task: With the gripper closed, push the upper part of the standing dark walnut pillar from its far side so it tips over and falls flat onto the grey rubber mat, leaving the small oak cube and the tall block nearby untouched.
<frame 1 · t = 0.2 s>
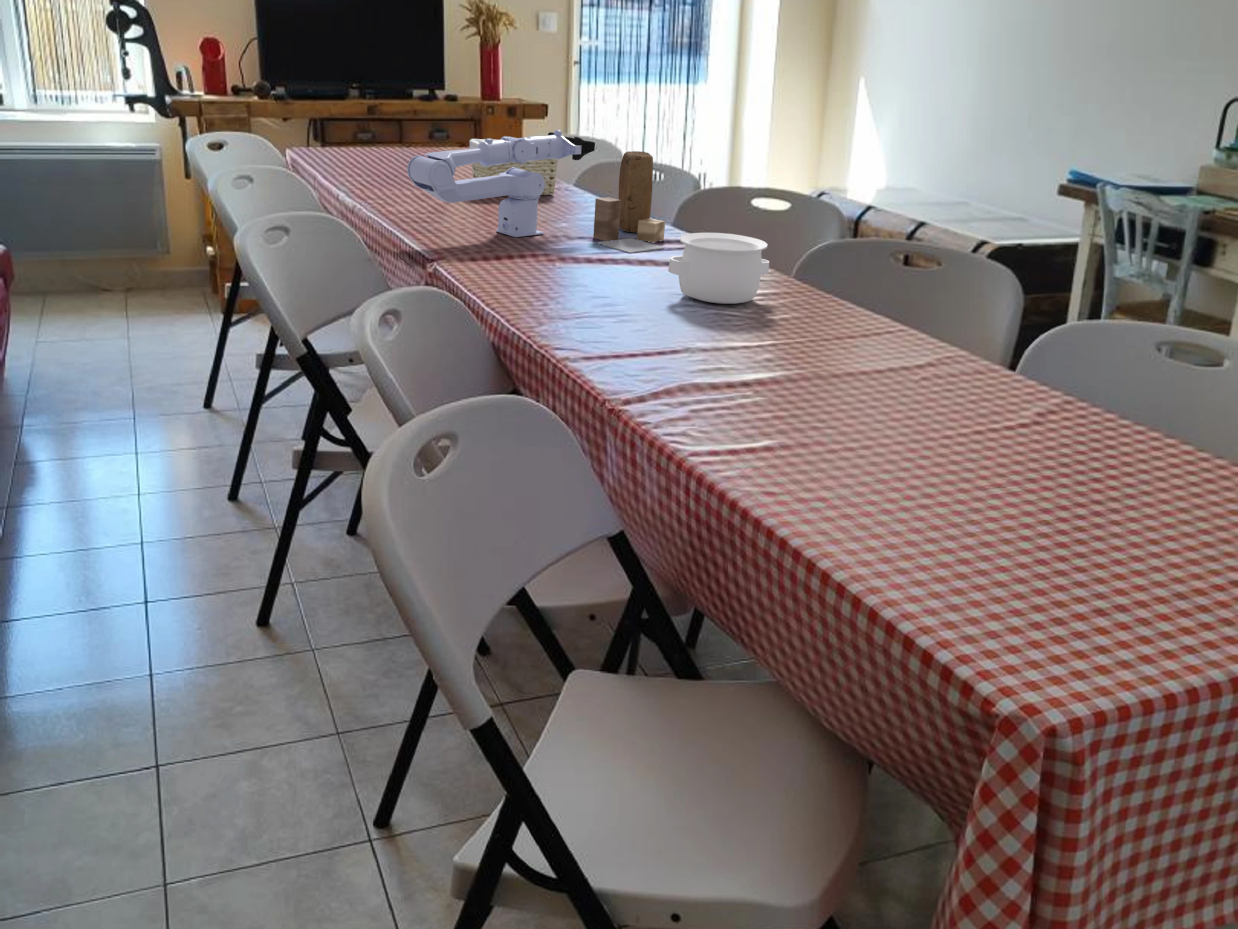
hand: (584, 144, 295), 21 cm above the table, tool horizontal, fingers open, 7 cm apart
block: (631, 230, 304), on the table
oak cube: (650, 240, 293), on the table
mat: (630, 245, 284), on the table
pot: (717, 300, 241), on the table
walnut pillar: (605, 239, 290), on the table
storage basket: (512, 193, 346), on the table
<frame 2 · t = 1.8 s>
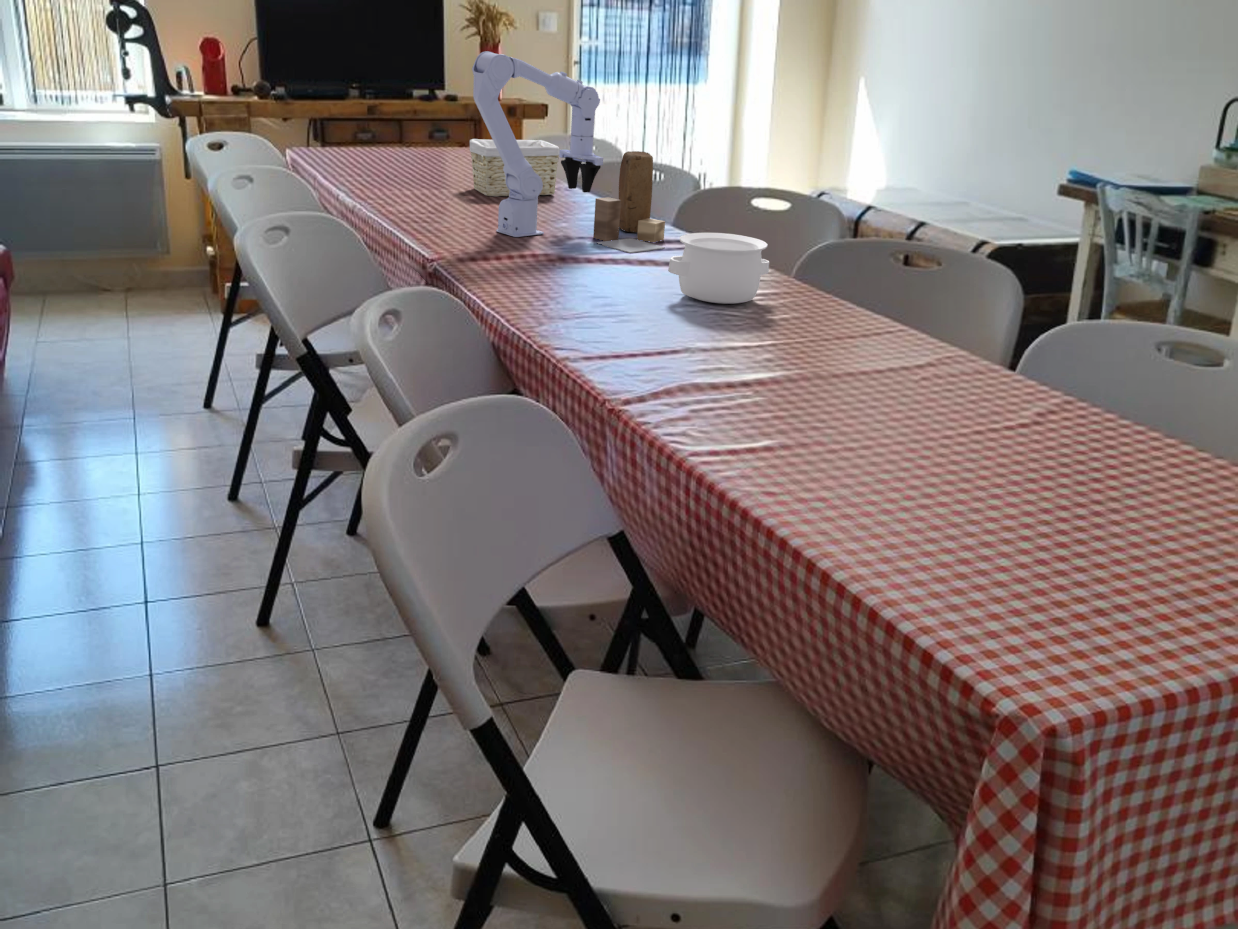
hand: (579, 190, 293), 10 cm above the table, tool pointing down, fingers open, 5 cm apart
nothing on the table moved.
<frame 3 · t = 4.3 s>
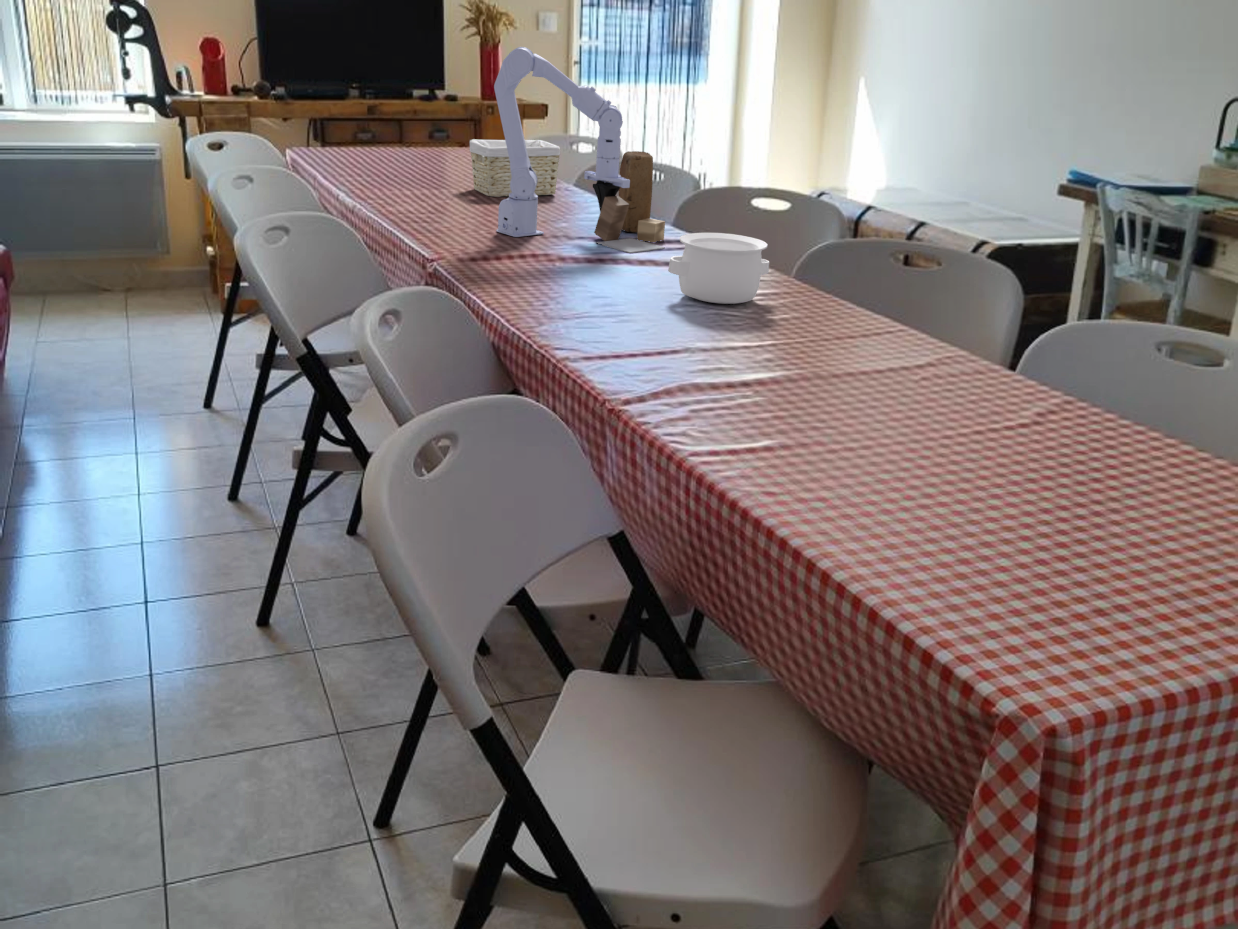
hand: (604, 212, 288), 6 cm above the table, tool pointing down, fingers closed
walnut pillar: (606, 236, 290), point 1 cm above the table, tilted 18°, touching gripper
everything else where it was.
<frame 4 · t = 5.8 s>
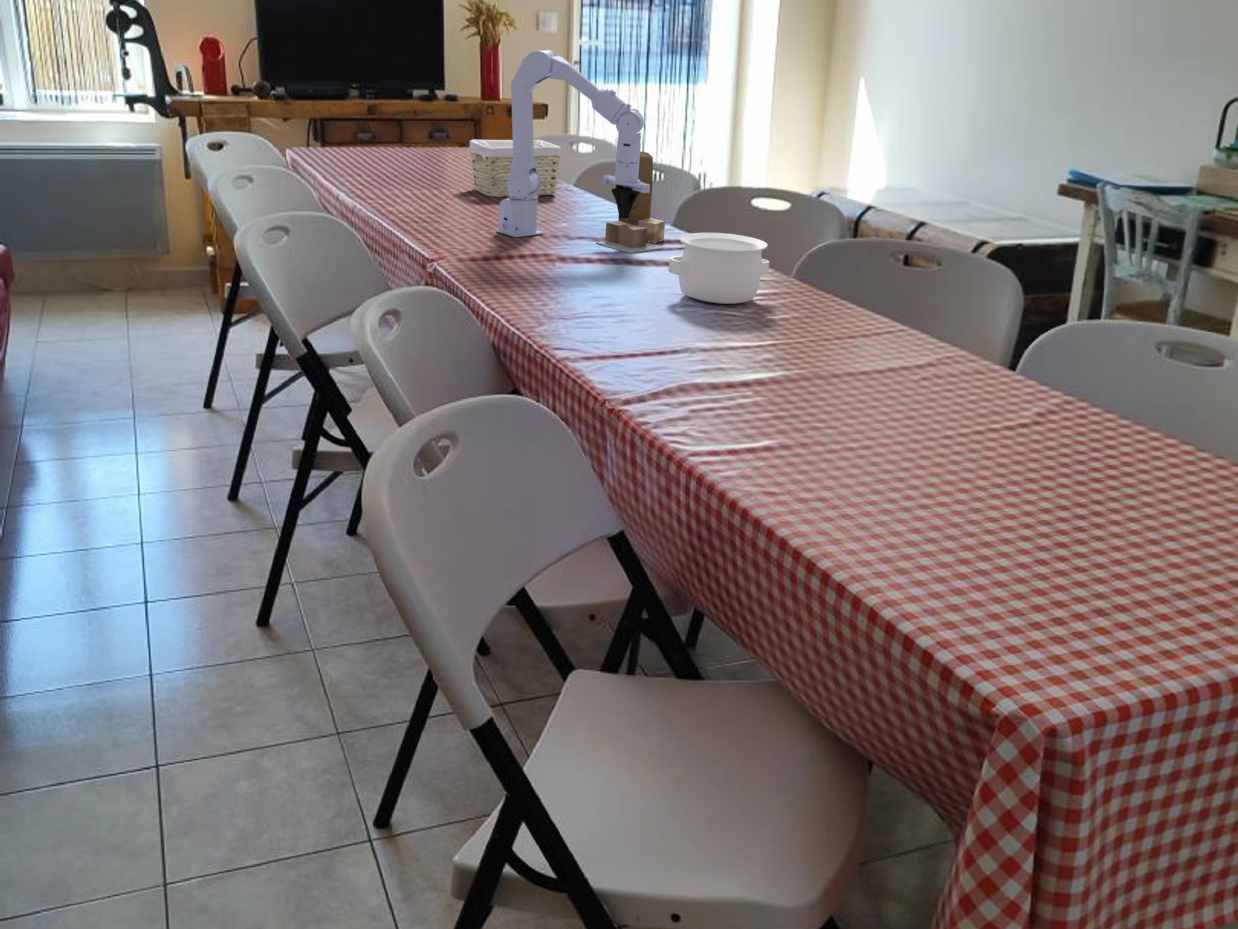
hand: (623, 217, 284), 6 cm above the table, tool pointing down, fingers closed
walnut pillar: (612, 230, 288), point 3 cm above the table, tilted 90°, touching mat
everything else where it was.
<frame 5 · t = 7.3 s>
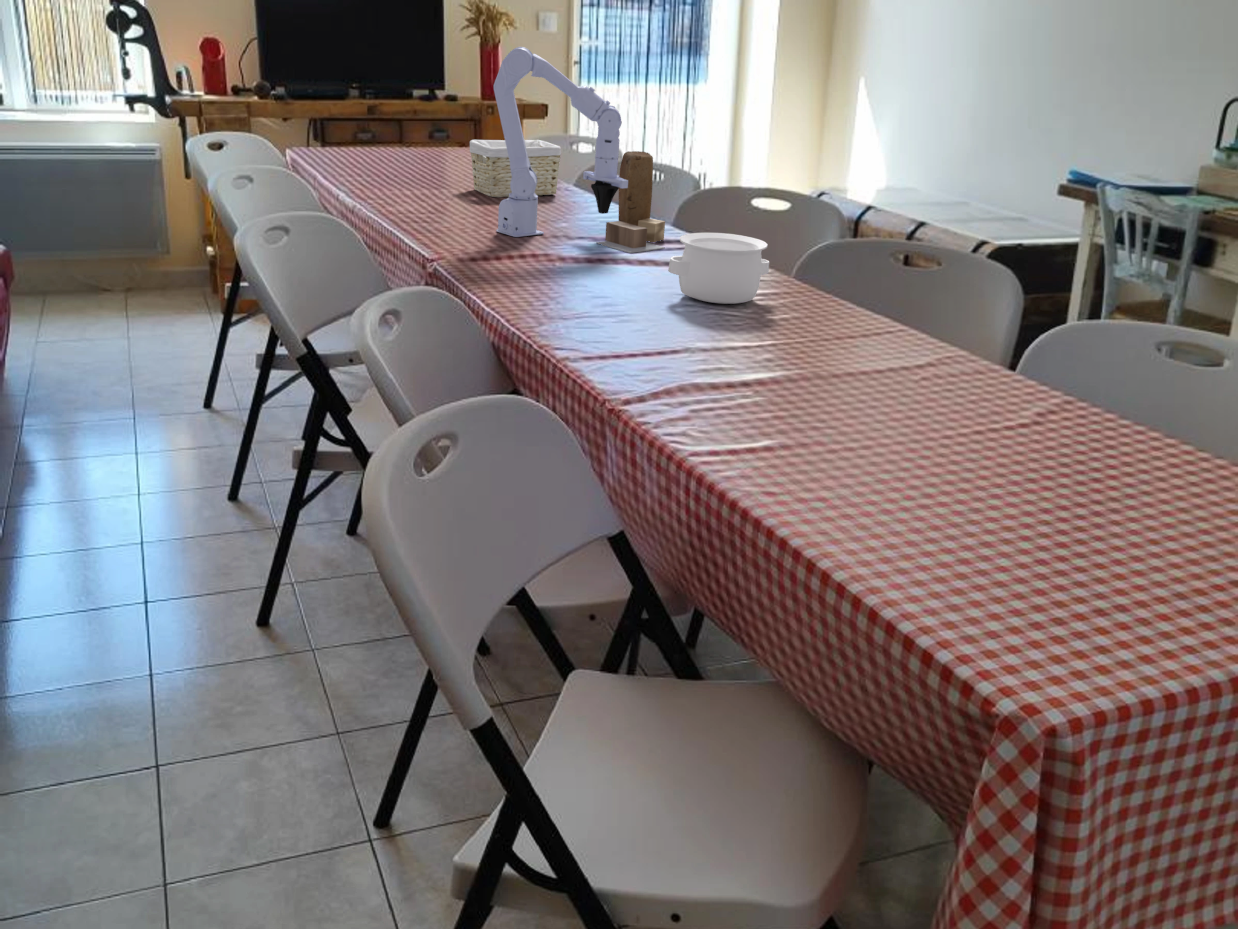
hand: (603, 212, 289), 6 cm above the table, tool pointing down, fingers closed
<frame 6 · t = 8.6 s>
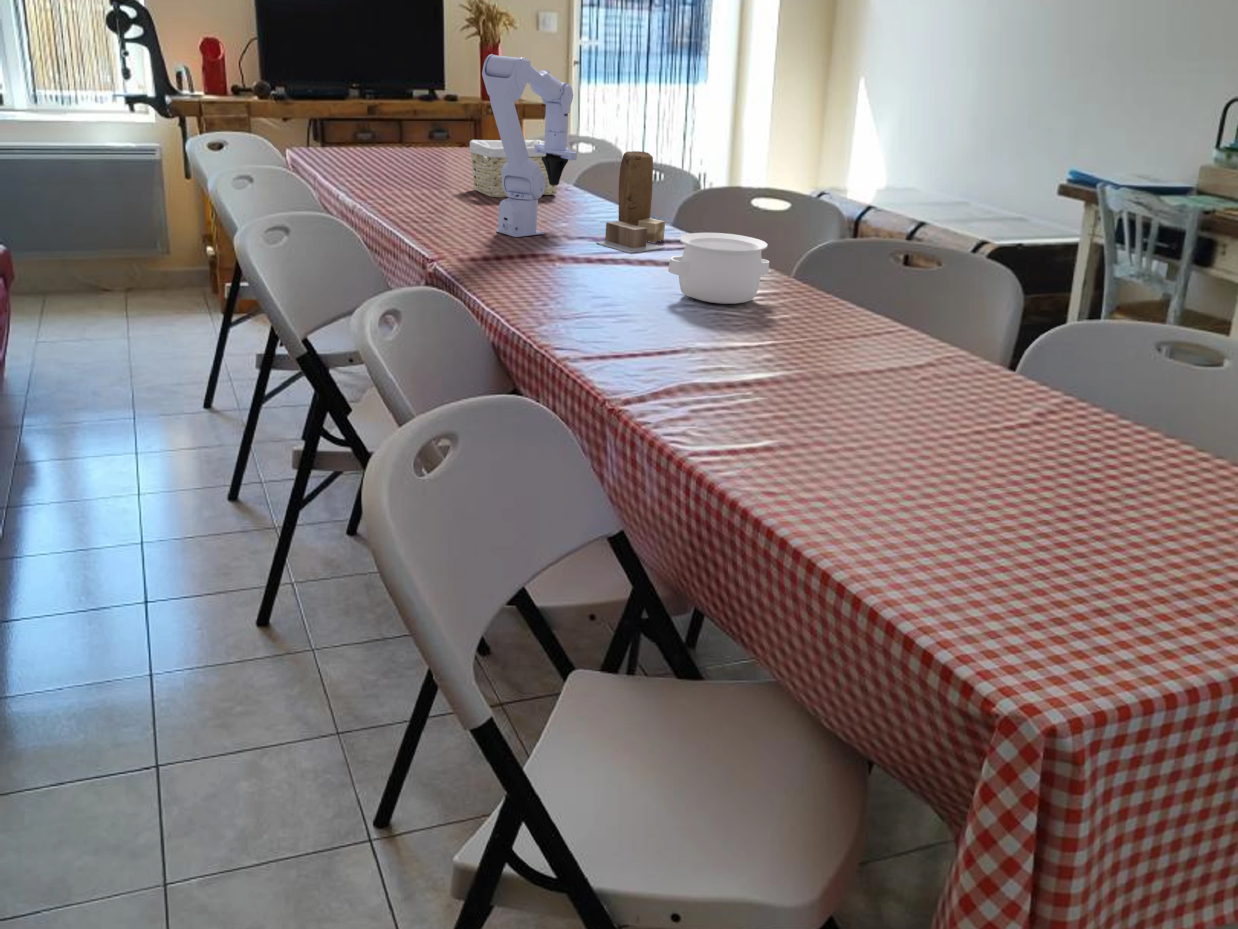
hand: (553, 184, 299), 10 cm above the table, tool pointing down, fingers closed
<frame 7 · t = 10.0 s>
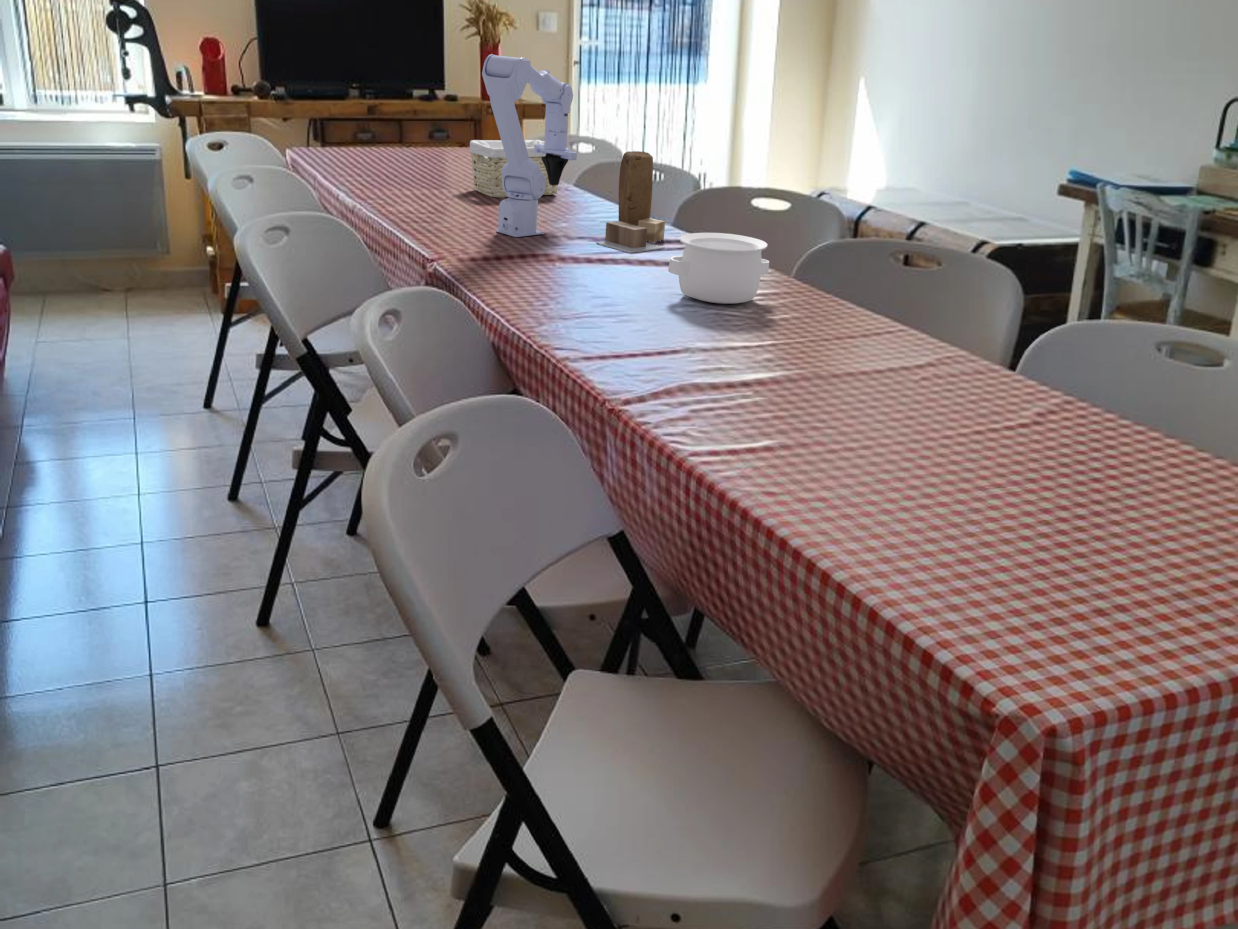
hand: (553, 184, 299), 10 cm above the table, tool pointing down, fingers closed
at the end: walnut pillar tilted 90°; walnut pillar inside the target area (5.3 cm from its centre), point 2.5 cm above the table; oak cube moved 0.1 cm from its start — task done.
